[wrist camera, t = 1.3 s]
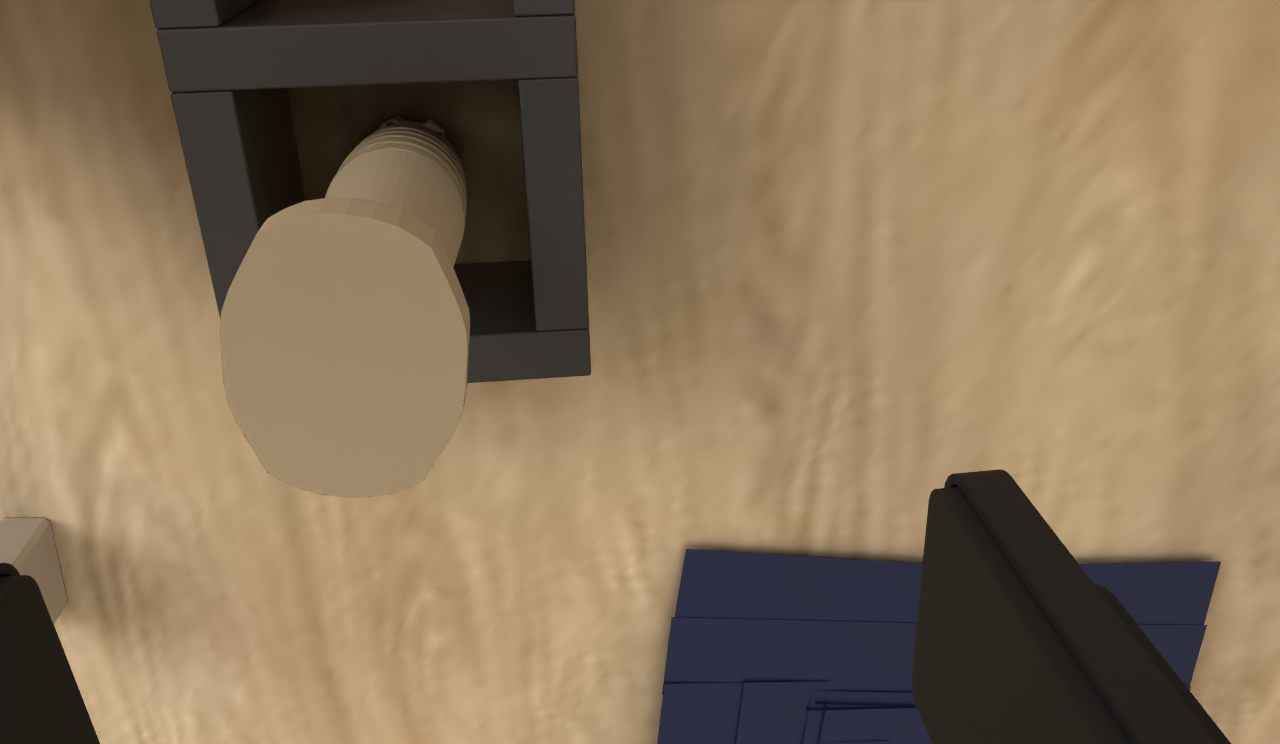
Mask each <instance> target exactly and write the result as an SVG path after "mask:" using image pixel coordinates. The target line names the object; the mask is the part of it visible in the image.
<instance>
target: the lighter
mask: <svg viewBox="0 0 1280 744" xmlns="http://www.w3.org/2000/svg"><path fill="white" fill-rule="evenodd" d="M0 563H8V564H12V565H13V566H14V567H15V568H16V569H17V570H18V572H19V573H20V575H28V576H31V577H32V578H33V579H35V580H36V582H37V584H38V586H39V588H40V591H41V593H42V596H43V599H44V601H45V604H46V606H47V609H48V611H49V614H50V617H51V619H52V622H53V624H54V623H55V621H56V620H57V618H58V616H59V615H60V613H61V611H62V610H63V608H64V606H65V605H66V603H67V596H66V592H65V587H64V583H63V578H62V574H61V569H60V564H59V560H58V555H57V551H56V546H55V542H54V537H53V533H52V528H51V524H50V521H48V520H47V519H45V518H4V519H3V520H2V521H1V522H0Z"/></svg>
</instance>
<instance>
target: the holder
mask: <svg viewBox="0 0 1280 744" xmlns="http://www.w3.org/2000/svg"><path fill="white" fill-rule="evenodd" d="M150 5H151V9H152V14H153V18H154V23H155V26H156V28H158V30H157V35H158V40H159V44H160V49H161V53H162V58H163V62H164V67H165V71H166V76H167V80H168V85H169V89H170V91H171V92H173V93H172V94H171V99H172V103H173V108H174V112H175V117H176V121H177V126H178V130H179V135H180V139H181V144H182V148H183V153H184V157H185V162H186V166H187V171H188V175H189V180H190V184H191V189H192V193H193V198H194V202H195V207H196V211H197V216H198V220H199V225H200V229H201V234H202V238H203V243H204V247H205V252H206V256H207V261H208V265H209V270H210V274H211V279H212V283H213V288H214V292H215V297H216V301H217V306H218V310H219V315H220V319H221V312H222V308H223V305H224V302H225V299H226V296H227V292H228V290H229V288H230V286H231V284H232V282H233V279H234V277H235V275H236V273H237V271H238V269H239V267H240V265H241V263H242V261H243V259H244V257H245V255H246V253H247V251H248V249H249V248H250V246H251V244H252V242H253V240H254V238H255V236H256V234H257V233H258V231H259V230H260V228H261V227H262V225H263V224H264V222H265V221H266V220H267V219H268V218H269V217H271V216H272V215H274V214H276V213H278V212H280V211H281V210H283V209H285V208H288V207H290V206H293V205H295V204H298V203H301V202H303V201H306V200H305V194H304V188H303V182H302V177H301V171H300V165H299V159H298V153H297V147H296V142H295V136H294V130H293V124H292V118H291V112H290V107H289V101H288V95H287V89H286V88H308V87H334V86H360V85H386V84H412V83H438V82H464V81H490V80H517V79H518V85H519V99H520V113H521V127H522V142H523V156H524V170H525V184H526V199H527V213H528V227H529V241H530V256H531V261H522V262H503V263H484V264H465V265H454V267H453V268H454V271H455V273H456V276H457V278H458V281H459V283H460V286H461V288H462V291H463V294H464V297H465V299H466V302H467V305H468V308H469V313H470V338H469V357H468V374H467V383H473V382H489V381H506V380H522V379H538V378H554V377H571V376H587V375H590V374H591V358H590V335H589V312H588V289H587V267H586V244H585V221H584V199H583V176H582V153H581V131H580V108H579V85H578V77H577V75H578V63H577V41H576V18H575V15H574V13H575V0H150Z"/></svg>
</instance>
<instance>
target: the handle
mask: <svg viewBox="0 0 1280 744" xmlns="http://www.w3.org/2000/svg"><path fill="white" fill-rule="evenodd" d="M466 211H467V197H466V181H465V168H464V164H463V161H462V159H461V157H459V156H458V155H457V154H456V152H455V150H454V149H453V147H452V146H451V145H450V143H449V142H448V141H447V140H446V137H445V134H444V127H443V126H442V125H441V124H439V123H438V122H436V121H434V120H432V119H429V120H428V121H424V122H412V121H407V120H405V119H402V118H401V117H400V116H396V117H393V118H390V119H388V120H386V121H384V122H383V123H382V124H381V125H380V129H379V130H377V131H375V132H373V133H372V134H370V135H369V136H368V137H366V138H365V139H364V140H362V141H361V142H360V143H359V144H358V145H357V146H356V147H355V148H354V150H353V151H352V152H351V153H350V154H349V155H348V156H347V158H346V159H345V160H344V162H343V164H342V165H341V167H340V168H339V170H338V171H337V173H336V175H335V177H334V178H333V180H332V182H331V184H330V186H329V188H328V190H327V193H326V196H325V198H322V199H315V200H308V201H303V202H301V203H298V204H295V205H293V206H290V207H288V208H285V209H283V210H281V211H280V212H278V213H276V214H274V215H272V216H271V217H269V218H268V219H267V220H266V221H265V222H264V224H263V225H262V227H261V228H260V230H259V231H258V233H257V234H256V236H255V238H254V240H253V242H252V244H251V246H250V248H249V249H248V251H247V253H246V255H245V257H244V259H243V261H242V263H241V265H240V267H239V269H238V271H237V273H236V275H235V277H234V279H233V282H232V284H231V286H230V288H229V290H228V292H227V296H226V299H225V302H224V305H223V308H222V312H221V325H220V343H221V358H222V373H223V383H224V388H225V394H226V399H227V403H228V405H229V407H230V409H231V412H232V414H233V416H234V418H235V421H236V423H237V424H238V426H239V428H240V429H241V431H242V433H243V434H244V436H245V438H246V439H247V441H248V443H249V444H250V446H251V447H252V449H253V451H254V452H255V454H256V455H257V457H258V458H259V460H260V462H261V463H262V465H263V466H264V468H265V469H266V471H267V473H269V474H271V475H272V476H274V477H276V478H277V479H279V480H281V481H283V482H285V483H287V484H289V485H292V486H294V487H296V488H298V489H301V490H305V491H309V492H313V493H317V494H321V495H329V496H338V497H373V496H380V495H386V494H392V493H395V492H398V491H401V490H404V489H406V488H409V487H411V486H413V485H415V484H417V483H419V482H421V481H423V480H424V479H425V478H426V476H427V475H428V473H429V472H430V470H431V469H432V467H433V465H434V464H435V462H436V461H437V459H438V458H439V456H440V455H441V453H442V451H443V450H444V448H445V446H446V445H447V443H448V441H449V440H450V438H451V436H452V435H453V433H454V431H455V429H456V426H457V424H458V422H459V419H460V417H461V415H462V411H463V406H464V401H465V396H466V387H467V374H468V357H469V338H470V313H469V308H468V305H467V302H466V299H465V297H464V294H463V291H462V288H461V286H460V283H459V281H458V278H457V276H456V273H455V271H454V268H453V267H454V264H455V261H456V258H457V255H458V252H459V249H460V246H461V243H462V239H463V236H464V228H465V220H466Z"/></svg>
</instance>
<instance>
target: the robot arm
mask: <svg viewBox="0 0 1280 744" xmlns="http://www.w3.org/2000/svg"><path fill="white" fill-rule="evenodd" d="M912 690H913V696H914V700H915V704H916V708H917V710H918V713H919V715H920V717H921V720H922V722H923V724H924V726H925V728H926V731H927V733H928V735H929V737H930V740H931V742H932V744H1231V743H1230V742H1229V740H1228V739H1227V738H1226V737H1225V735H1224V734H1223V733H1222V731H1221V730H1220V729H1219V728H1218V726H1217V725H1216V724H1215V723H1214V721H1213V720H1212V719H1211V717H1210V716H1209V715H1208V714H1207V712H1206V711H1205V710H1204V709H1203V707H1202V706H1201V705H1200V703H1199V702H1198V701H1197V700H1196V698H1195V697H1194V696H1193V695H1192V693H1191V692H1190V691H1189V689H1188V688H1187V687H1186V686H1185V684H1184V683H1183V682H1182V680H1181V679H1180V678H1179V677H1178V675H1177V674H1176V673H1175V672H1174V670H1173V669H1172V668H1171V666H1170V665H1169V664H1168V663H1167V661H1166V660H1165V659H1164V658H1163V656H1162V655H1161V654H1160V652H1159V651H1158V650H1157V649H1156V647H1155V646H1154V645H1153V644H1152V642H1151V641H1150V640H1149V638H1148V637H1147V636H1146V635H1145V633H1144V632H1143V631H1142V630H1141V628H1140V627H1139V626H1138V624H1137V623H1136V622H1135V621H1134V619H1133V618H1132V617H1131V615H1130V614H1129V613H1128V612H1127V610H1126V609H1125V608H1124V607H1123V605H1122V604H1121V603H1120V601H1119V600H1118V599H1117V598H1116V596H1114V595H1113V594H1112V593H1111V592H1110V591H1109V590H1108V589H1107V588H1106V587H1105V586H1102V585H1100V584H1097V583H1093V582H1092V581H1091V580H1090V578H1089V577H1088V576H1087V575H1086V573H1085V572H1084V571H1083V569H1082V568H1081V567H1080V565H1079V564H1078V563H1077V562H1076V560H1075V559H1074V558H1073V556H1072V555H1071V554H1070V552H1069V551H1068V550H1067V549H1066V547H1065V546H1064V545H1063V543H1062V542H1061V541H1060V539H1059V538H1058V537H1057V536H1056V534H1055V533H1054V532H1053V530H1052V529H1051V528H1050V526H1049V525H1048V524H1047V522H1046V521H1045V520H1044V519H1043V517H1042V516H1041V515H1040V513H1039V512H1038V511H1037V509H1036V508H1035V507H1034V506H1033V504H1032V503H1031V502H1030V500H1029V499H1028V498H1027V496H1026V495H1025V494H1024V493H1023V491H1022V490H1021V489H1020V487H1019V486H1018V485H1017V483H1016V482H1015V481H1014V480H1013V478H1012V477H1011V476H1010V475H1009V474H1008V473H1007V472H1006V471H1004V470H990V471H979V472H968V473H958V474H951V475H950V476H948V478H947V480H946V482H945V487H944V488H941V489H934V490H933V491H932V492H931V495H930V498H929V505H928V516H927V526H926V536H925V546H924V556H923V567H922V577H921V587H920V597H919V608H918V618H917V628H916V638H915V648H914V659H913V669H912ZM0 744H100V743H99V740H98V737H97V735H96V732H95V730H94V727H93V725H92V722H91V719H90V717H89V714H88V712H87V709H86V707H85V704H84V701H83V699H82V696H81V694H80V691H79V689H78V686H77V683H76V681H75V678H74V676H73V673H72V671H71V668H70V665H69V663H68V660H67V658H66V655H65V653H64V650H63V647H62V645H61V642H60V640H59V637H58V635H57V632H56V629H55V627H54V624H53V622H52V619H51V617H50V614H49V611H48V609H47V606H46V604H45V601H44V599H43V596H42V593H41V591H40V588H39V586H38V584H37V582H36V580H35V579H33V578H32V577H31V576H28V575H20V573H19V572H18V570H17V569H16V568H15V567H14V566H13V565H12V564H8V563H0Z"/></svg>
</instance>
